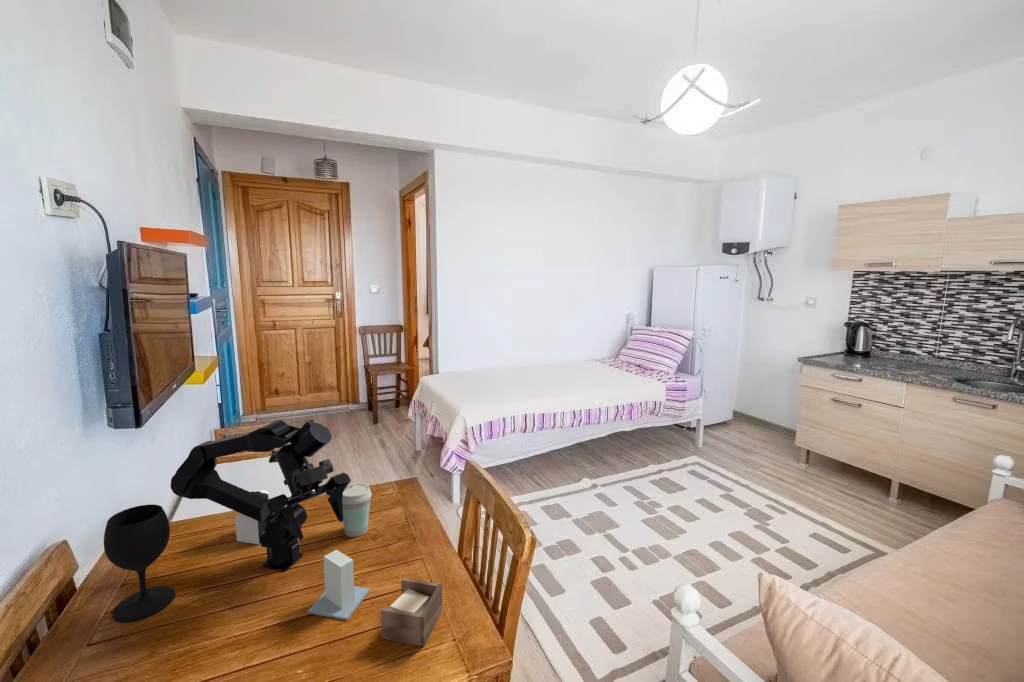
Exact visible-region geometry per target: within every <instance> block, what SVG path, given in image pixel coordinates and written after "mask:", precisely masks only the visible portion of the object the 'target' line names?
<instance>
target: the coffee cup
mask: <svg viewBox="0 0 1024 682" xmlns="http://www.w3.org/2000/svg"><path fill="white" fill-rule="evenodd" d="M372 495H373V494H372V491H371V489H370V486H369V485H367V484H364V483H353V484H348V486H347V488H346V489H345V490H344V491H343V496H342V506H343V521H342V523H343V528H344V529H343V530H344V534H345V536H347V537H349V538H356V537H357V538H358V537H361V536H363V535H364V534H366V533H367V531H368V528H369V518H370V517H369V515H370V506H371V497H372Z"/></svg>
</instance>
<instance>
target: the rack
mask: <svg viewBox="0 0 1024 682" xmlns="http://www.w3.org/2000/svg"><path fill="white" fill-rule="evenodd" d="M400 587H401V590H400V591H401V594H400V596H401V595H402V594H403V593H404V592H405V591H406V590H407V589H410V590H412V591H415V592H418V593H420V594H423V595H426V596H428V597H429V602H428V604H427V605H426V607H425V609H424V611H423V613H422V614H419V613H413V612H407V611H402V610H396V609H391V608H390V607H382V608H381V609H380V637H381V639H383V640H388V641H393V642H398V643H403V644H409V645H415V646H419V647H425V646H426V644H427V642H428V640H429V638H430V636H431V634H432V632H433V630H434V627H435V626H436V624H437V622H438V620H439V618H440V616H441V614H442V612H443V584H442V583H436V582H432V581H425V580H418V579H413V578H406V577H402V578H401V579H400Z"/></svg>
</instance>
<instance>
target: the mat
mask: <svg viewBox="0 0 1024 682" xmlns="http://www.w3.org/2000/svg"><path fill="white" fill-rule="evenodd" d="M370 591H371V589H370V587H365V586H364V587H362V586H358V585H354V599H355V601H354V602H353V603H351V604H349V605H348V606H346V607H345V608H343V609H341V608H339V607H338V606H337V605H335V604H334V603H333V602H331V601H330V600H328V599H327V598H326V597H325V591H324V592H323V593H322V594H321V596H320V597H319V598H318V599H317V600H316V601H315V602H314V603H313V604H312V605H311V606H310V608H308V610H307V613H308V614H312V615H316V616H323V617H328V618H332V617H333V618H332V619H338V620H344V621H348V620H349V619H350V617H351V616H352V615H353V613H355V611H356V610H357V609H358V607H359V606H360V604H361V603H362V602H363V600H364V599H365V598H366V597H367V595H368V594H369V592H370Z"/></svg>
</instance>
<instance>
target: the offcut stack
mask: <svg viewBox="0 0 1024 682" xmlns="http://www.w3.org/2000/svg"><path fill="white" fill-rule="evenodd" d="M428 602H429V597H428V596H426V595H423V594H420V593H418V592H415V591H412V590H410V589H407V590H406V591H405V592H404V593H403V594H402V595H401V594H400V596H399V597H397V599H396V600H394V602H393V603H392V604H391V605H390V606H389V608H391V609H396V610H402V611H407V612H413V613H419V614H422V613H423V611H424V609H425V607H426V605H427V604H428Z"/></svg>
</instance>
